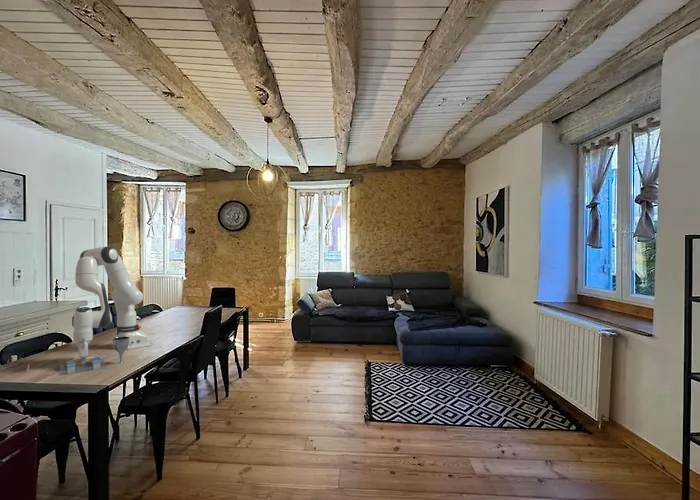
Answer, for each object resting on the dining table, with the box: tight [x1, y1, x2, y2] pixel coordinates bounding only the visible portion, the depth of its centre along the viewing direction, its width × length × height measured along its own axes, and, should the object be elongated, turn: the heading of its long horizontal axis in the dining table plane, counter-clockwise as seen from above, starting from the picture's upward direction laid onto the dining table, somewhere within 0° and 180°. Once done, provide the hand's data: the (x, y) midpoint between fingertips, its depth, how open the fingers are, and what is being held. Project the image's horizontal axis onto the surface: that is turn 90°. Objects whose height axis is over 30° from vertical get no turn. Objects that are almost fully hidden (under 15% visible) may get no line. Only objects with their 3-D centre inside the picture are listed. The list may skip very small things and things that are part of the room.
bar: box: [64, 355, 101, 367], centre depth 207 cm, size 16×3×3 cm, turn 128°
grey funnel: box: [112, 336, 129, 364], centre depth 210 cm, size 8×8×15 cm
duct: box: [59, 353, 108, 377], centre depth 203 cm, size 20×21×5 cm
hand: (82, 362), depth 207 cm, fingers open, 4 cm apart
